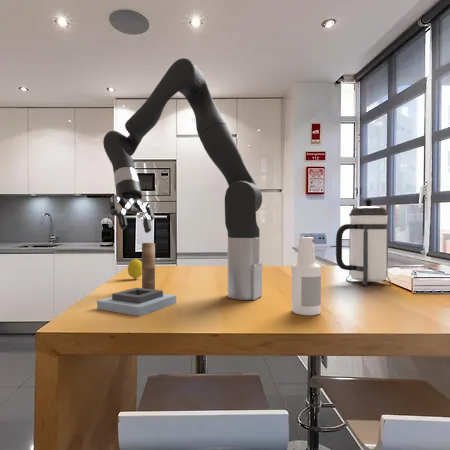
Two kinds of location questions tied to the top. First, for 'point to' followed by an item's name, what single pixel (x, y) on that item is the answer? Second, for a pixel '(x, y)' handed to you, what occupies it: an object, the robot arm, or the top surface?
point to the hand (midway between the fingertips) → (136, 230)
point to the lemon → (135, 268)
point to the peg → (148, 266)
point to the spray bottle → (306, 280)
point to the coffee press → (366, 244)
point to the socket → (136, 301)
